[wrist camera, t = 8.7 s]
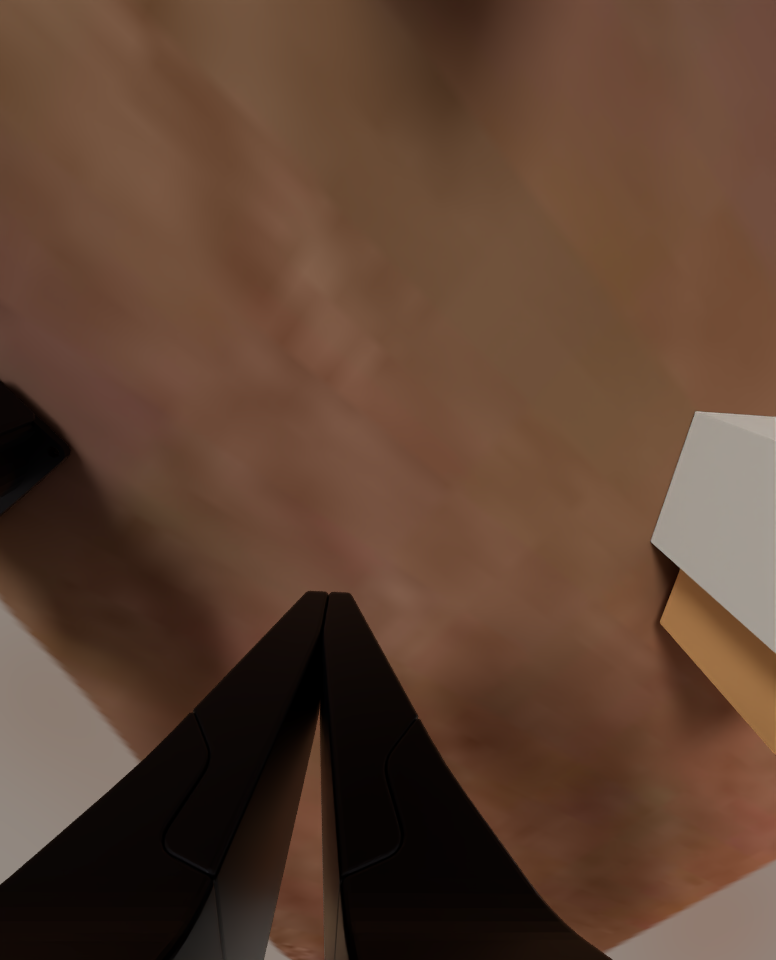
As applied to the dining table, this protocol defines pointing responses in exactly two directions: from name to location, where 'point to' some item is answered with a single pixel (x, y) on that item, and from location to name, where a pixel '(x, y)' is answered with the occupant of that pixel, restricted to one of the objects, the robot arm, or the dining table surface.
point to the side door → (725, 654)
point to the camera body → (727, 516)
